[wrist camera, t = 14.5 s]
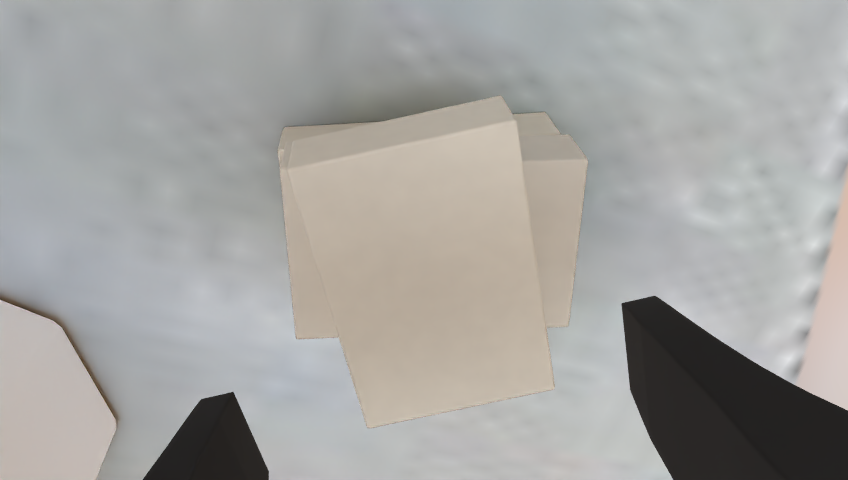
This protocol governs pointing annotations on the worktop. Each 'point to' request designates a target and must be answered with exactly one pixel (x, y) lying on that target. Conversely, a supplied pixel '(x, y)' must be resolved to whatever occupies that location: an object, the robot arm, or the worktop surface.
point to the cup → (47, 403)
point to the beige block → (549, 209)
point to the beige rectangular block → (427, 259)
